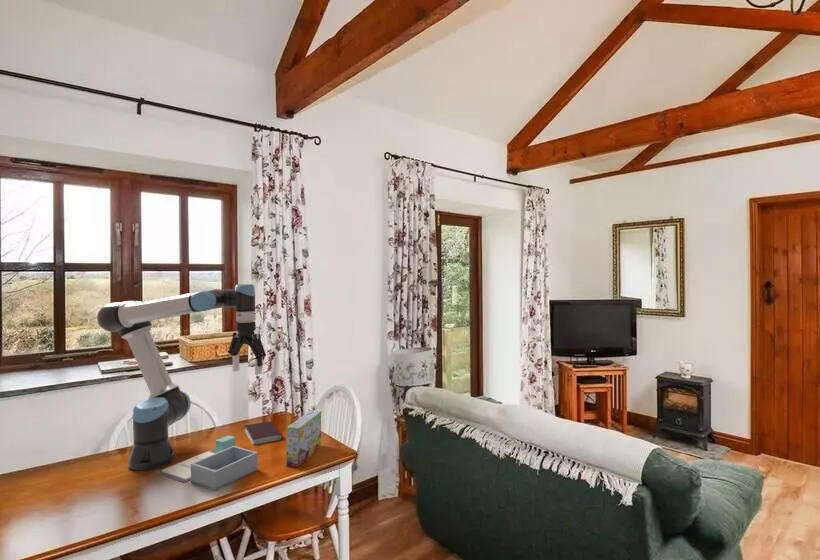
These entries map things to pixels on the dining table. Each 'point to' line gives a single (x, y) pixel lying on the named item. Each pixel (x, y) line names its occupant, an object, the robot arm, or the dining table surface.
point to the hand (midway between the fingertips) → (247, 372)
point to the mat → (177, 477)
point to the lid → (184, 468)
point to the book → (262, 432)
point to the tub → (224, 467)
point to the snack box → (303, 438)
